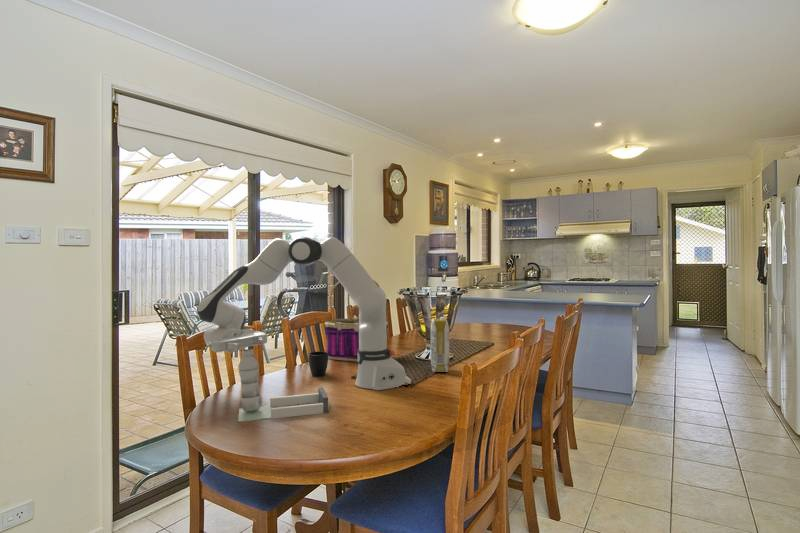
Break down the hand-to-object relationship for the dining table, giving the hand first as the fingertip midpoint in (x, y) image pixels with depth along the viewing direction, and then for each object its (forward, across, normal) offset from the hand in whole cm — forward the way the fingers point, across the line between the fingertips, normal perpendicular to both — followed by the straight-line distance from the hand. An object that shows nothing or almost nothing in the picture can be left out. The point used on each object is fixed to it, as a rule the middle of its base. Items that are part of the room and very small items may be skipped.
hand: (250, 344), depth 162 cm
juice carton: (+25, +76, +23) cm, 83 cm away
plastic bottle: (+11, -7, +20) cm, 24 cm away
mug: (-11, +38, +21) cm, 45 cm away
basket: (-22, +70, +22) cm, 76 cm away
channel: (+20, +5, +21) cm, 29 cm away
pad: (+13, -7, +20) cm, 25 cm away
